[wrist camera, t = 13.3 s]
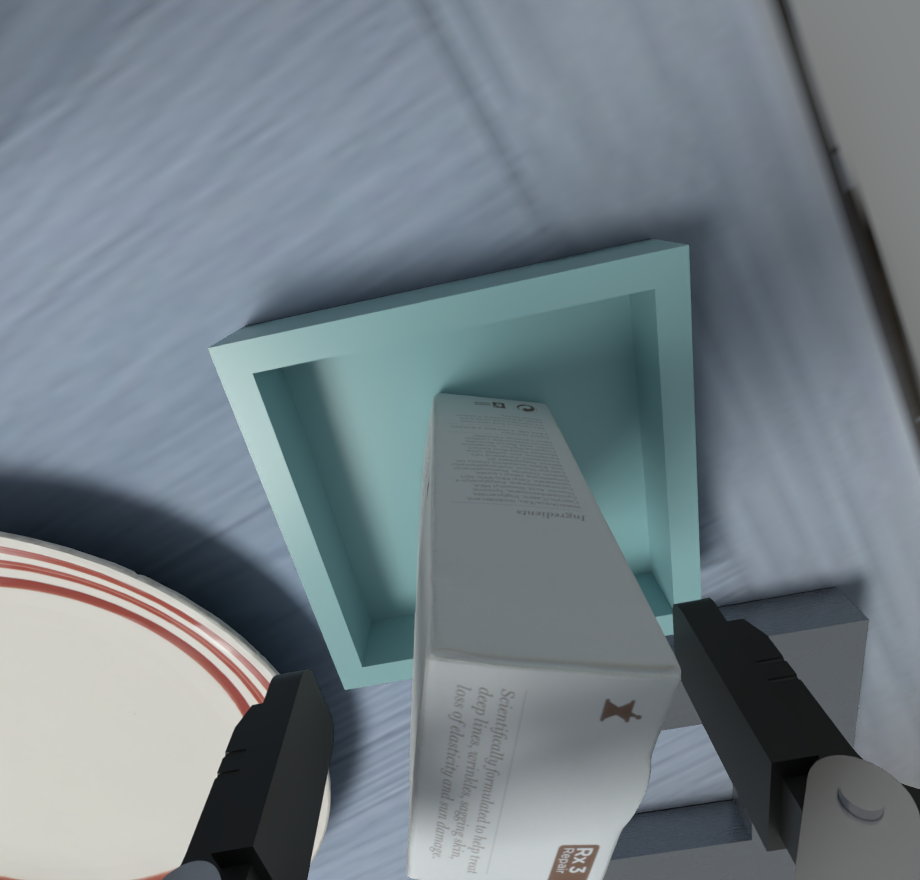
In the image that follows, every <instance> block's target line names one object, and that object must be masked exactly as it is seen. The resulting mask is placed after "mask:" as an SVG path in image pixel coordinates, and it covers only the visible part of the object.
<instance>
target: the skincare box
mask: <svg viewBox="0 0 920 880" xmlns="http://www.w3.org/2000/svg"><path fill="white" fill-rule="evenodd" d="M680 680H681V669H680V666H679V664H678V661H677V659H676V657H675V655H674V653H673V651H672V649H671V647H670V645H669V643H668V641H667V639H666V637H665V635H664V633H663V631H662V629H661V627H660V625H659V623H658V621H657V619H656V617H655V616H654V614H653V612H652V610H651V608H650V606H649V604H648V602H647V600H646V598H645V596H644V594H643V592H642V590H641V588H640V586H639V584H638V582H637V580H636V578H635V576H634V574H633V572H632V570H631V569H630V567H629V565H628V563H627V561H626V559H625V557H624V555H623V553H622V551H621V549H620V547H619V545H618V543H617V541H616V539H615V537H614V535H613V533H612V531H611V530H610V528H609V526H608V524H607V522H606V520H605V518H604V516H603V514H602V512H601V510H600V508H599V506H598V504H597V502H596V500H595V498H594V496H593V494H592V492H591V490H590V489H589V487H588V485H587V483H586V481H585V479H584V477H583V475H582V473H581V471H580V469H579V467H578V465H577V463H576V461H575V459H574V457H573V455H572V453H571V451H570V449H569V447H568V445H567V443H566V441H565V439H564V437H563V435H562V433H561V431H560V429H559V428H558V426H557V423H556V421H555V419H554V418H553V416H552V414H551V411H550V410H549V408H548V406H547V405H546V404H543V403H536V402H526V401H515V400H506V399H496V398H486V397H476V396H468V395H456V394H448V393H439V394H437V395H435V396H434V398H433V402H432V407H431V413H430V419H429V425H428V431H427V438H426V446H425V454H424V464H423V475H422V488H421V503H420V521H419V537H418V562H417V587H416V609H415V624H414V657H413V682H412V708H411V738H410V804H409V830H408V849H407V866H406V872H407V875H408V877H410V878H412V879H420V880H603V878H604V876H605V874H606V871H607V868H608V865H609V862H610V859H611V856H612V854H613V851H614V849H615V846H616V844H617V841H618V838H619V836H620V834H621V831H622V829H623V828H624V827H625V825H626V824H627V823H628V822H629V821H630V820H631V818H632V817H633V815H634V814H635V812H636V810H637V809H638V807H639V805H640V803H641V801H642V799H643V797H644V794H645V792H646V791H647V787H648V783H649V779H650V773H651V757H652V752H653V750H654V747H655V744H656V742H657V739H658V736H659V734H660V731H661V728H662V726H663V723H664V721H665V718H666V716H667V713H668V710H669V708H670V705H671V703H672V700H673V698H674V695H675V693H676V690H677V688H678V685H679V683H680Z"/></svg>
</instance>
